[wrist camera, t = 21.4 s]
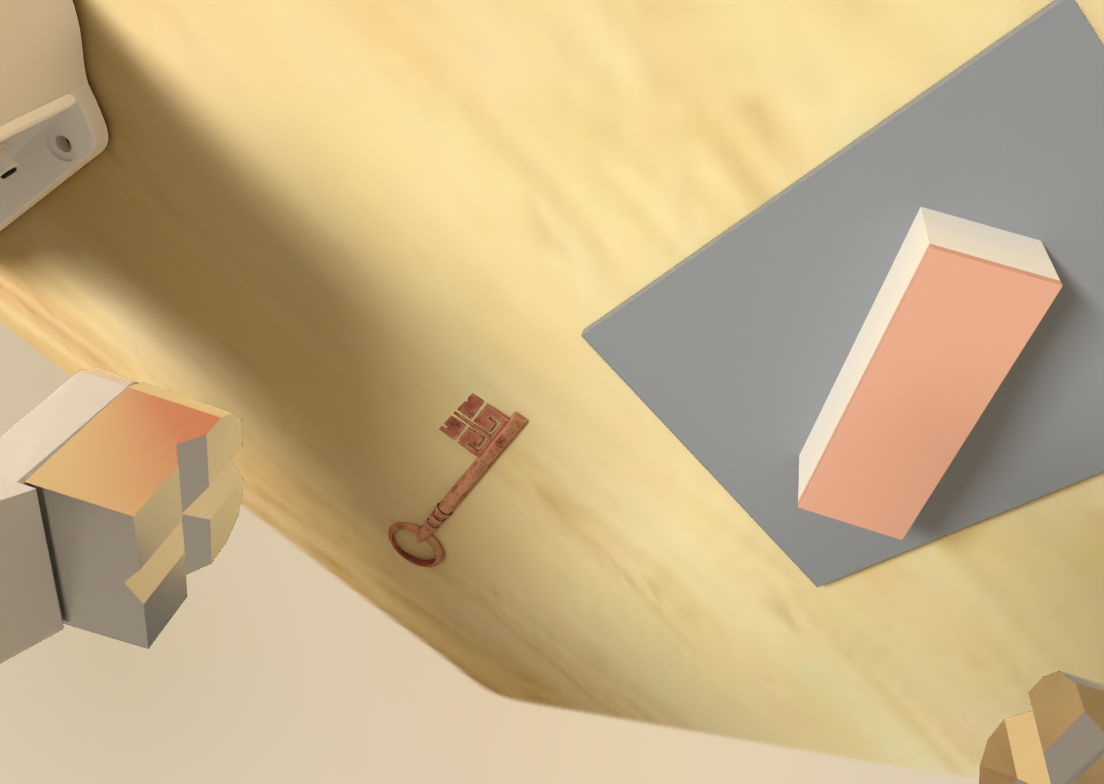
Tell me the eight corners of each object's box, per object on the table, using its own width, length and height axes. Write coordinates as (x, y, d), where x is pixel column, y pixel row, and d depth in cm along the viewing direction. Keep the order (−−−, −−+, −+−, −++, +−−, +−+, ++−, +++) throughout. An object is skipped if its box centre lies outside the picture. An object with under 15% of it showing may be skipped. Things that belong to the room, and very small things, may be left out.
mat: (817, 579, 50) (817, 587, 50) (583, 329, 45) (581, 335, 44) (1309, 377, 37) (1315, 385, 37) (1067, -9, 32) (1071, -6, 31)
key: (468, 370, 49) (360, 517, 58) (461, 378, 48) (353, 526, 57) (552, 433, 49) (432, 570, 58) (547, 442, 49) (426, 579, 57)
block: (902, 540, 42) (1062, 285, 33) (797, 507, 42) (930, 247, 34) (896, 485, 45) (1041, 240, 36) (799, 455, 45) (920, 206, 37)
